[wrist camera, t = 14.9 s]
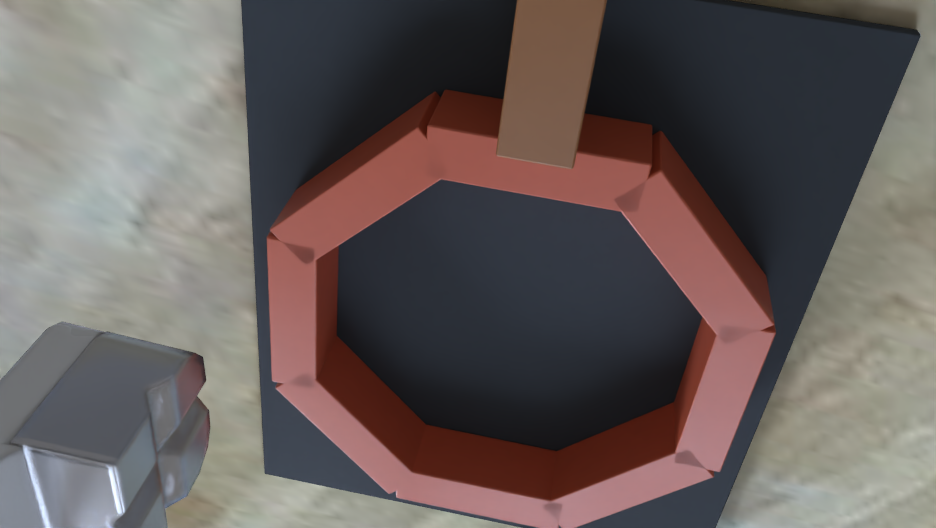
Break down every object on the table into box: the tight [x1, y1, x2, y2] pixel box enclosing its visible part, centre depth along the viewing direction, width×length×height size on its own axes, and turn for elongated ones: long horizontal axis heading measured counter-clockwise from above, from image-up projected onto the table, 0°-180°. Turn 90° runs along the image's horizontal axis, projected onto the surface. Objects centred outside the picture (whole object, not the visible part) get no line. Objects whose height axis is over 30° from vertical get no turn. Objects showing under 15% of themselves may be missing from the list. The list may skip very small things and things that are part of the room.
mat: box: [241, 0, 920, 528], centre depth 30 cm, size 22×18×1 cm
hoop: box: [267, 0, 776, 528], centre depth 27 cm, size 21×15×4 cm
